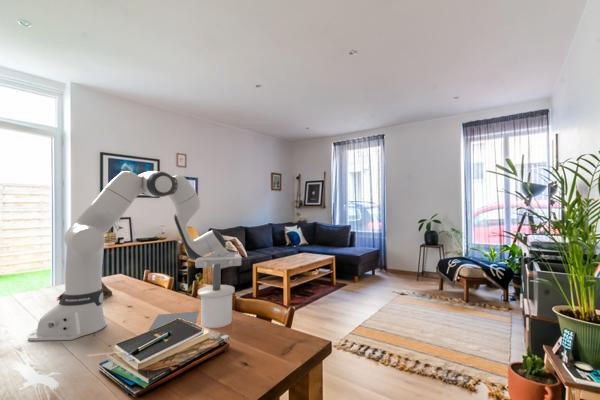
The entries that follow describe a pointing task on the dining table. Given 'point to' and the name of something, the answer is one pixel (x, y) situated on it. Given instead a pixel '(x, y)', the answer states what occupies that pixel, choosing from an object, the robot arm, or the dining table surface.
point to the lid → (216, 286)
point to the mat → (173, 318)
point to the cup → (216, 311)
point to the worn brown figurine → (106, 291)
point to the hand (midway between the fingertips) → (218, 265)
